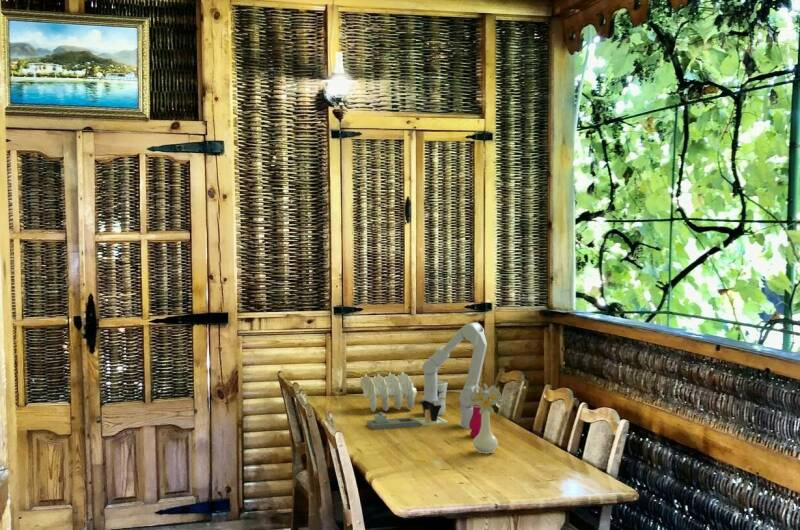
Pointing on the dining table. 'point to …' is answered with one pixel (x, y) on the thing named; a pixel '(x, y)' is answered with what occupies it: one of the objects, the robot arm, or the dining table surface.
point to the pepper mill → (475, 420)
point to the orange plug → (428, 417)
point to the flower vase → (486, 417)
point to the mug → (441, 388)
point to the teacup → (442, 403)
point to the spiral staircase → (388, 390)
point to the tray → (439, 421)
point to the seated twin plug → (380, 418)
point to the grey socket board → (394, 423)
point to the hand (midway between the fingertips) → (430, 419)
